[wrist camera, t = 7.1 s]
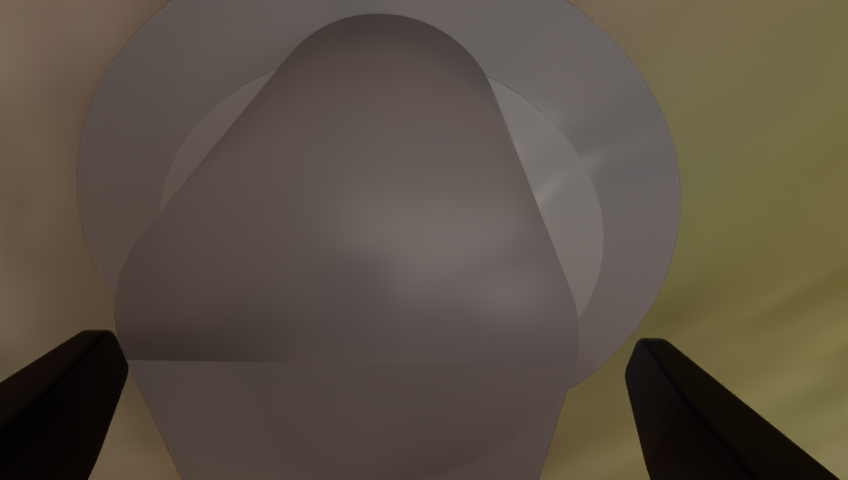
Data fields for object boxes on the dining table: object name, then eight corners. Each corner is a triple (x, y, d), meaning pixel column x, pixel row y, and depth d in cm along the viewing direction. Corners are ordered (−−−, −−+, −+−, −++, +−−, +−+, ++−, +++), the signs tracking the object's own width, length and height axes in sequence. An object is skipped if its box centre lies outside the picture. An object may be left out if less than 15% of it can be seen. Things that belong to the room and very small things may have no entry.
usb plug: (515, 17, 7) (637, 166, 3) (456, 467, 14) (472, 693, 10) (248, 8, 7) (28, 150, 3) (320, 466, 14) (281, 693, 10)
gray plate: (764, -51, 8) (801, -46, 7) (591, 416, 15) (600, 443, 14) (-17, -80, 7) (-65, -77, 7) (183, 412, 14) (170, 440, 13)
